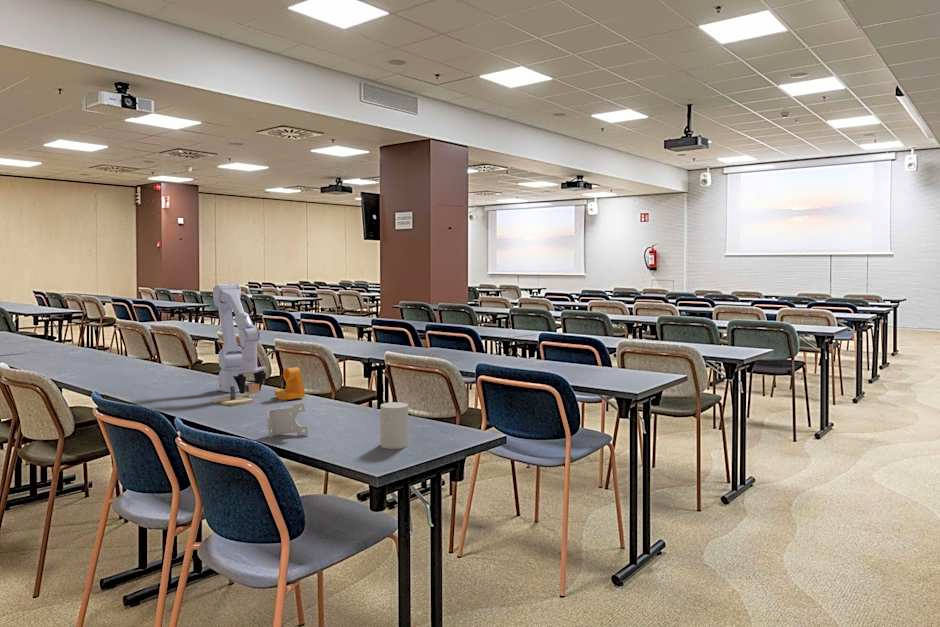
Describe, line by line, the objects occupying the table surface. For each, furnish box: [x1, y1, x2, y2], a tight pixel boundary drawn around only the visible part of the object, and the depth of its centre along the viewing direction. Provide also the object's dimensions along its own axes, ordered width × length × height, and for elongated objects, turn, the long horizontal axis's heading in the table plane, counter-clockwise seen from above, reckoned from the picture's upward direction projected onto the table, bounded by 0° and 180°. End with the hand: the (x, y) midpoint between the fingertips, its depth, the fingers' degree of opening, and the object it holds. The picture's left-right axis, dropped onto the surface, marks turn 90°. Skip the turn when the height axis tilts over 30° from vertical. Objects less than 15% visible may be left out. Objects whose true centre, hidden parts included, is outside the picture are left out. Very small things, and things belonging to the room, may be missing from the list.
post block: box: [211, 386, 255, 407], centre depth 267 cm, size 12×10×6 cm
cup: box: [380, 401, 409, 450], centre depth 207 cm, size 8×8×12 cm
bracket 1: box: [274, 366, 306, 401], centre depth 275 cm, size 11×7×12 cm, turn 46°
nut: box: [240, 381, 260, 399], centre depth 278 cm, size 5×5×5 cm
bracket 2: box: [265, 402, 310, 438], centre depth 216 cm, size 11×4×10 cm, turn 82°
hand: (250, 391), depth 278 cm, fingers open, 7 cm apart
